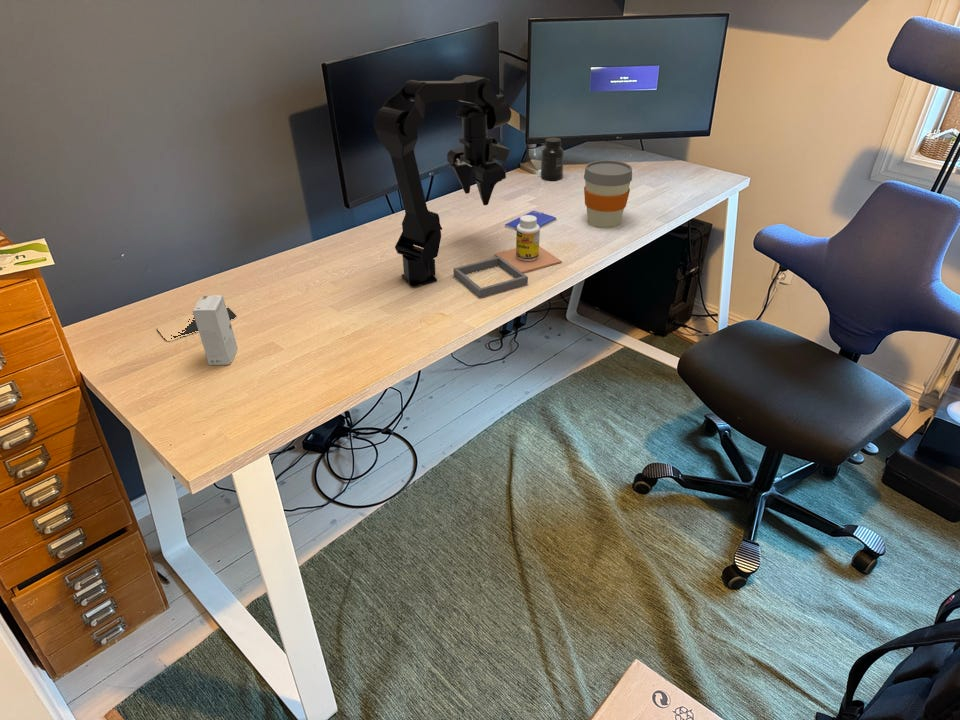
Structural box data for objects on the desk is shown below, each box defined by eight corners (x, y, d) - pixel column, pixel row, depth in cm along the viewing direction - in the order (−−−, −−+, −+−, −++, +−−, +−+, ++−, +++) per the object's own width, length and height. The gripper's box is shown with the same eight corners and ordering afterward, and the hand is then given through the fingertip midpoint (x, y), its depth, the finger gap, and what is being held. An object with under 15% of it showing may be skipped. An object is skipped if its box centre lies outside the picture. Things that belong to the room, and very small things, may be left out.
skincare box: (231, 365, 130) (216, 310, 123) (207, 366, 130) (191, 311, 123) (238, 347, 135) (224, 294, 128) (215, 348, 135) (201, 295, 128)
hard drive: (532, 209, 190) (504, 223, 183) (556, 217, 186) (528, 231, 178) (532, 215, 191) (504, 229, 184) (556, 222, 187) (528, 236, 179)
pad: (519, 274, 160) (519, 272, 159) (494, 255, 168) (494, 253, 168) (561, 262, 165) (561, 260, 164) (534, 245, 173) (534, 243, 173)
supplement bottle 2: (560, 173, 218) (562, 136, 211) (564, 181, 213) (566, 142, 206) (539, 174, 218) (540, 136, 211) (542, 181, 212) (543, 143, 206)
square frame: (479, 298, 150) (479, 290, 149) (453, 276, 160) (453, 268, 158) (527, 284, 155) (527, 276, 154) (499, 263, 165) (499, 256, 163)
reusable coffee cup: (571, 221, 186) (574, 167, 177) (600, 209, 192) (605, 157, 184) (606, 234, 178) (612, 179, 169) (636, 221, 185) (643, 167, 176)
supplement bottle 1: (511, 257, 166) (511, 218, 160) (525, 250, 169) (526, 211, 164) (529, 264, 163) (530, 224, 157) (543, 256, 166) (544, 217, 161)
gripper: (526, 138, 153) (524, 204, 161) (485, 119, 166) (486, 181, 175) (483, 146, 148) (484, 214, 157) (444, 126, 162) (447, 189, 170)
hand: (476, 199), depth 165 cm, fingers open, 9 cm apart
